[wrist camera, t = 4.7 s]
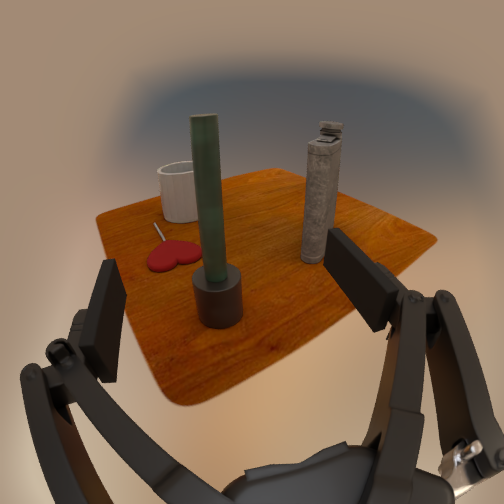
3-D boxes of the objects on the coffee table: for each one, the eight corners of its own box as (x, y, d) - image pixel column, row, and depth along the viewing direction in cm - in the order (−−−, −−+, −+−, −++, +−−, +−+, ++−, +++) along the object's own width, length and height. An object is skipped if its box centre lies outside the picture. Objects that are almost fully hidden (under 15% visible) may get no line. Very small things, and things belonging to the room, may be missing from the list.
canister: (155, 220, 51) (147, 174, 46) (178, 202, 58) (173, 160, 53) (197, 225, 48) (192, 174, 44) (216, 205, 56) (213, 161, 51)
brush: (191, 323, 29) (160, 120, 18) (208, 295, 33) (190, 113, 22) (234, 333, 28) (220, 116, 17) (248, 302, 32) (243, 111, 21)
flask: (336, 222, 49) (346, 119, 39) (324, 266, 37) (339, 128, 28) (316, 218, 50) (323, 117, 40) (298, 261, 39) (306, 124, 29)
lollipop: (133, 232, 47) (151, 276, 36) (132, 227, 47) (150, 271, 36) (176, 220, 51) (207, 259, 40) (175, 215, 50) (206, 253, 39)
